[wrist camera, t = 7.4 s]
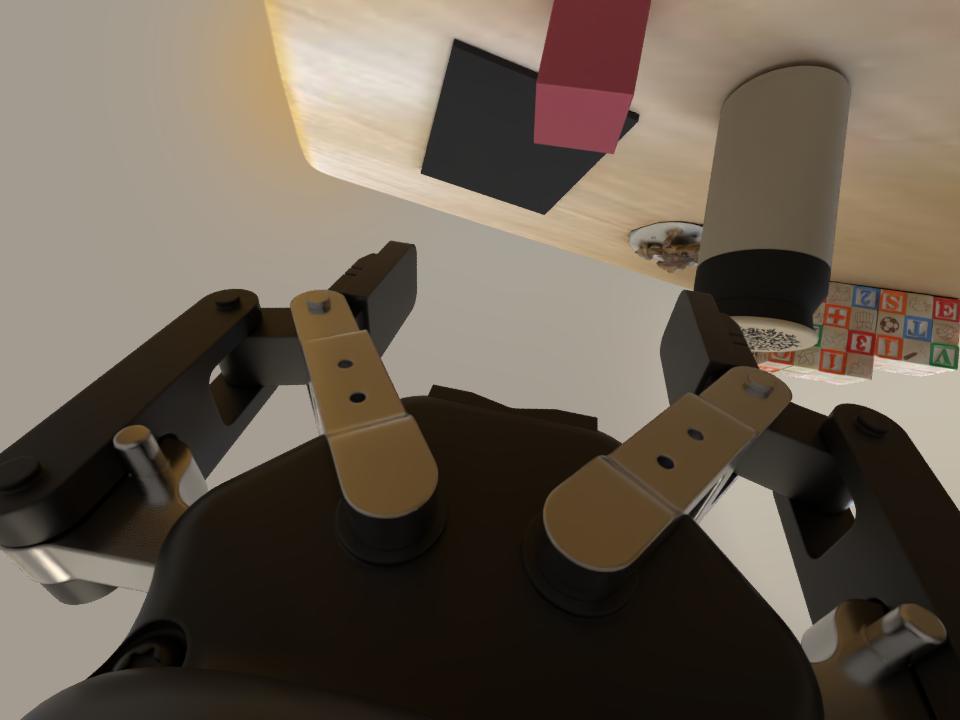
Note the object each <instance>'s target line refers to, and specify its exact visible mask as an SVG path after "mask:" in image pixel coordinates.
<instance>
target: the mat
mask: <svg viewBox="0 0 960 720" xmlns="http://www.w3.org/2000/svg"><path fill="white" fill-rule="evenodd" d="M537 78H538V73H536V72H533V71H531V70H528V69H526V68H523V67H521V66H519V65H516V64H514V63H511V62H509V61H506V60H504V59H502V58H499V57H497V56H494V55H492V54H489V53H487V52H485V51H482V50H480V49H477V48H475V47H472V46H470V45H468V44H465V43H463V42H460V41H458V40H454V43H453V47H452V51H451V55H450V59H449V63H448V67H447V71H446V75H445V79H444V83H443V87H442V91H441V95H440V99H439V103H438V107H437V111H436V115H435V118H434V122H433V126H432V130H431V134H430V138H429V142H428V146H427V150H426V154H425V158H424V162H423V166H422V170H421V174H423V175H426V176H429V177H432V178H435V179H438V180H441V181H444V182H447V183H450V184H453V185H456V186H459V187H462V188H465V189H468V190H471V191H474V192H477V193H480V194H483V195H486V196H489V197H492V198H495V199H498V200H501V201H504V202H507V203H510V204H513V205H516V206H519V207H522V208H525V209H528V210H531V211H534V212H537V213H540V214H543V215H545V214H546V213H547V212H548V211H549V210H550V209H551V208H552V207H553V206H554V205H555V204H556V203H557V202H558V201H559V200H560V199H561V198H562V197H563V196H564V195H565V194H566V193H567V192H568V191H569V190H570V189H571V188H572V187H573V186H574V185H575V184H576V183H577V182H578V181H579V180H580V179H581V178H582V177H583V176H584V175H585V174H586V173H587V172H588V171H589V170H590V169H591V168H592V167H593V166H594V165H595V164H596V163H597V162H598V161H599V160H600V159H601V158H602V157H603V156H604V155H605V154H606V153H603V152H595V151H588V150H581V149H573V148H566V147H559V146H551V145H544V144H537V143H534V124H535V102H536V82H537ZM638 120H639V115H638V114H635V113H633V112H630V111H628V114H627V116H626V119H625V122H624V125H623V128H622V131H621V134H620V137H619V140H620V139H621V138H622V137H623V136H624V135H625V134H626V133H627V132H628V131H629V130H630V129H631V128H632V127H633V126H634V125H635V124H636V123H637V122H638ZM619 140H618V141H619Z"/></svg>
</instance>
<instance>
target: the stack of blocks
mask: <svg viewBox="0 0 960 720" xmlns="http://www.w3.org/2000/svg"><path fill="white" fill-rule="evenodd" d="M959 322H960V300H954V299H947V298H939V297H933V296H928V295H921V294H914V293H906V292H900V291H893V290H886V289H877V288H870V287H863V286H856V285H849V284H842V283H835V282H830V283H829V292H828V296H827V297H826V299H825V300H824V301H823V302H822V304H821V305H820V306H819V307H818V309H817V310H816V311H815V312H814V314H813V327H814V331H815V332H816V333H817V334H818V337H819V339H818V342H817V343H816V344H815V345H814V346H812V347H809V348H806V349H802V350H797V351H787V352H755V351H751V352H752V354H753V356H754V358H755V360H756V362H757V365H758V367H759V369H761V370H763V371H768V372H772V373H773V374H778V375H784V376H789V377H799V378H804V379H811V380H816V381H822V382H828V383H834V384H839V385H846V384H851V383H856V382H861V381H867V380H871V379H872V372H873V369H877V370H883V371H889V372H896V373H901V374H907V375H913V376H925V375H931V374H937V373H942V372H948V371H953V370H957V369H958V359H959V347H958V343H959V333H960V323H959Z"/></svg>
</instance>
